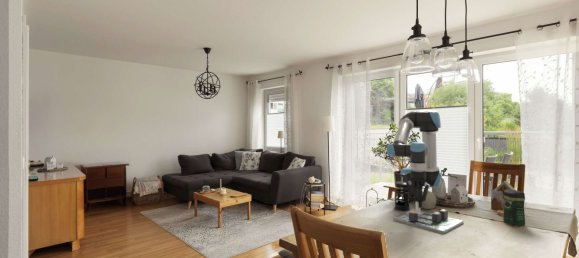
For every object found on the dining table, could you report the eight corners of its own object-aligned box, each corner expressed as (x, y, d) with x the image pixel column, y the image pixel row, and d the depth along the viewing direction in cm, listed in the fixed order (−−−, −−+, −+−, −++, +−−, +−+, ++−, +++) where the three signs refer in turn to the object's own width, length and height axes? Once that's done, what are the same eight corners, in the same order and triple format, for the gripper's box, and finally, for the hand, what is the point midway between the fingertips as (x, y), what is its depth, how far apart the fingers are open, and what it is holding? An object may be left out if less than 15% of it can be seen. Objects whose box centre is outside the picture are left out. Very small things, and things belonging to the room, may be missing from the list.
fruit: (422, 205, 202) (422, 183, 201) (439, 209, 192) (439, 186, 192) (413, 208, 196) (413, 185, 195) (430, 212, 186) (430, 188, 186)
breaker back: (442, 216, 172) (442, 208, 172) (447, 217, 169) (447, 209, 169) (438, 218, 169) (438, 210, 169) (444, 219, 167) (444, 211, 167)
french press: (391, 206, 199) (391, 172, 198) (405, 206, 200) (405, 172, 199) (399, 211, 187) (399, 175, 187) (413, 211, 188) (413, 175, 187)
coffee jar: (528, 226, 159) (528, 191, 158) (513, 227, 158) (513, 192, 158) (514, 220, 168) (514, 187, 168) (500, 221, 168) (500, 188, 168)
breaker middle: (435, 219, 167) (435, 211, 167) (441, 220, 164) (441, 212, 164) (432, 221, 164) (432, 213, 164) (437, 222, 162) (437, 214, 161)
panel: (414, 212, 186) (414, 209, 186) (463, 223, 165) (463, 220, 165) (393, 220, 171) (393, 217, 171) (443, 234, 150) (443, 230, 150)
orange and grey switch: (412, 218, 169) (412, 210, 169) (418, 219, 166) (418, 211, 166) (408, 220, 166) (408, 212, 166) (413, 221, 164) (413, 213, 164)
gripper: (403, 169, 166) (403, 211, 167) (426, 172, 156) (426, 217, 157) (410, 168, 171) (410, 209, 172) (433, 171, 161) (433, 214, 162)
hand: (418, 213), depth 164 cm, fingers closed
